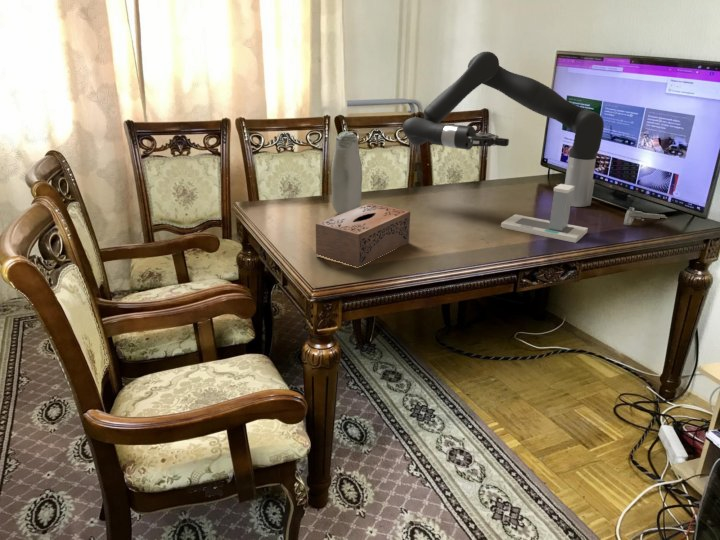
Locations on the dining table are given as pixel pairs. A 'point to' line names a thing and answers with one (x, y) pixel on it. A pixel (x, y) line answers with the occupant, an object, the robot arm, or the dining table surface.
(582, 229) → the switch panel
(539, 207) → the dining table surface
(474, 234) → the dining table surface
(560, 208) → the switch tab
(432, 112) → the robot arm
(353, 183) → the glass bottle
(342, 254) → the tissue box cover
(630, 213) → the caliper
